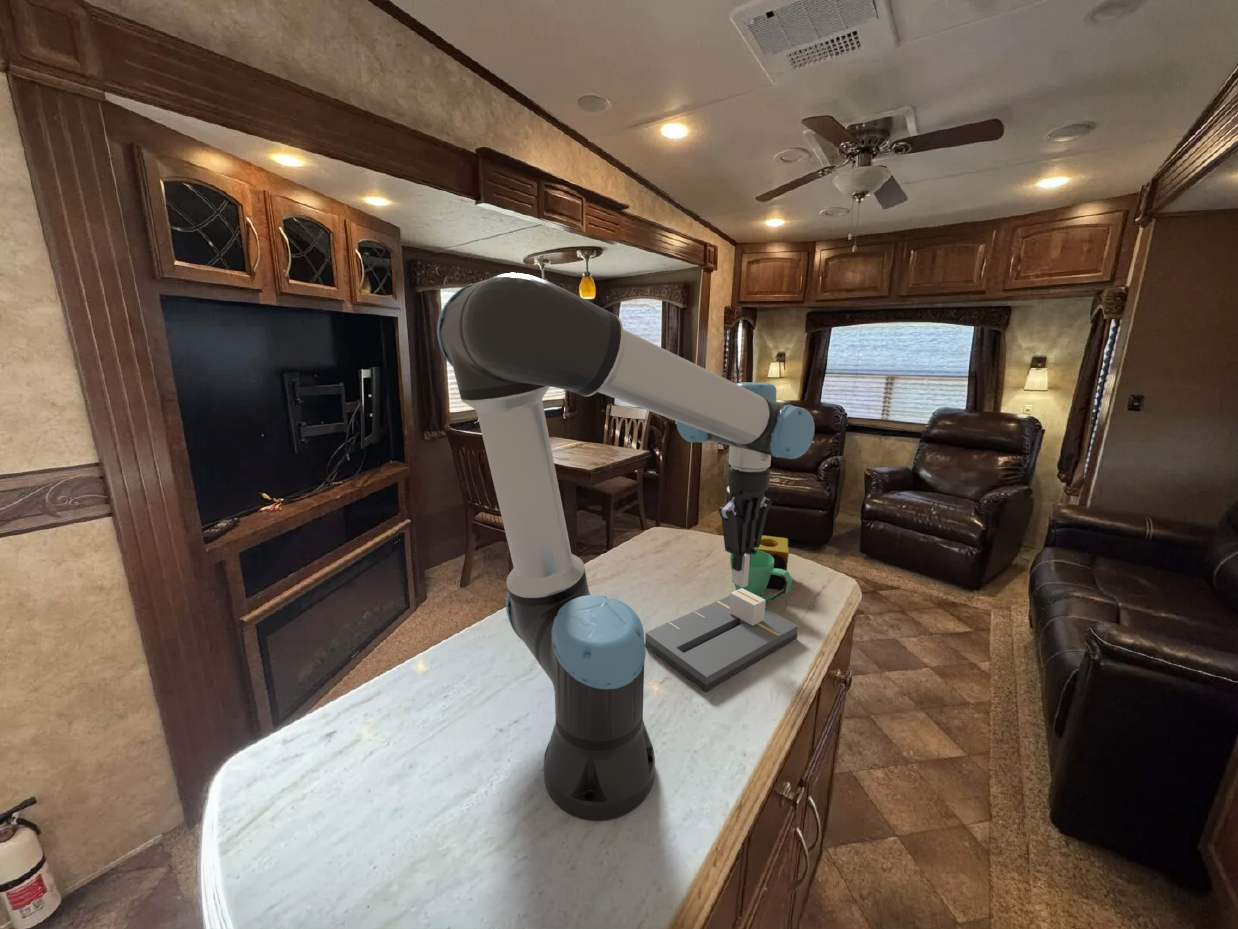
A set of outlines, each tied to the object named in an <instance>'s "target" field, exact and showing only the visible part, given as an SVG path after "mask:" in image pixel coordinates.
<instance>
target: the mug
mask: <svg viewBox="0 0 1238 929" xmlns="http://www.w3.org/2000/svg"><path fill="white" fill-rule="evenodd" d="M756 551H757V552H756V554H755V555H754V554H751V561H750V567H749V576H748V586H745V587H741V586H739V585H737V584H735V583H733V585H734V587H735V591H736V590H738V589H741V588H743V589H745V590H747V591H749V592H751V593H753V594H755V595H757V596H759V597H761V598H763V599H765V600H766V602H768V601H771V602H773V601H775V600H777V599H780V598H781V597H783V596H784V595H786V594H789V593H790V589H791V586H792V583H793V577H792V575H791V573H790V572H789V571H788V570H787V571H785V570H782V569H777V568H773V567H774V558H773V557H772V556H771V555H769V554H768V553H765V552H763V551H759V550H756ZM729 555H730V556H729V563H730V567H731V568H730V569H731V575H732V574H733V569H732V560H733V554H732V553H730V554H729ZM770 575H778V576H781V577H783V578H784V580H785V587H784V589H783V590H779V591H778V592H777V593H775V594H764V593H765V591H766V587H767V584H768V582H769V578H770Z"/></svg>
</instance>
